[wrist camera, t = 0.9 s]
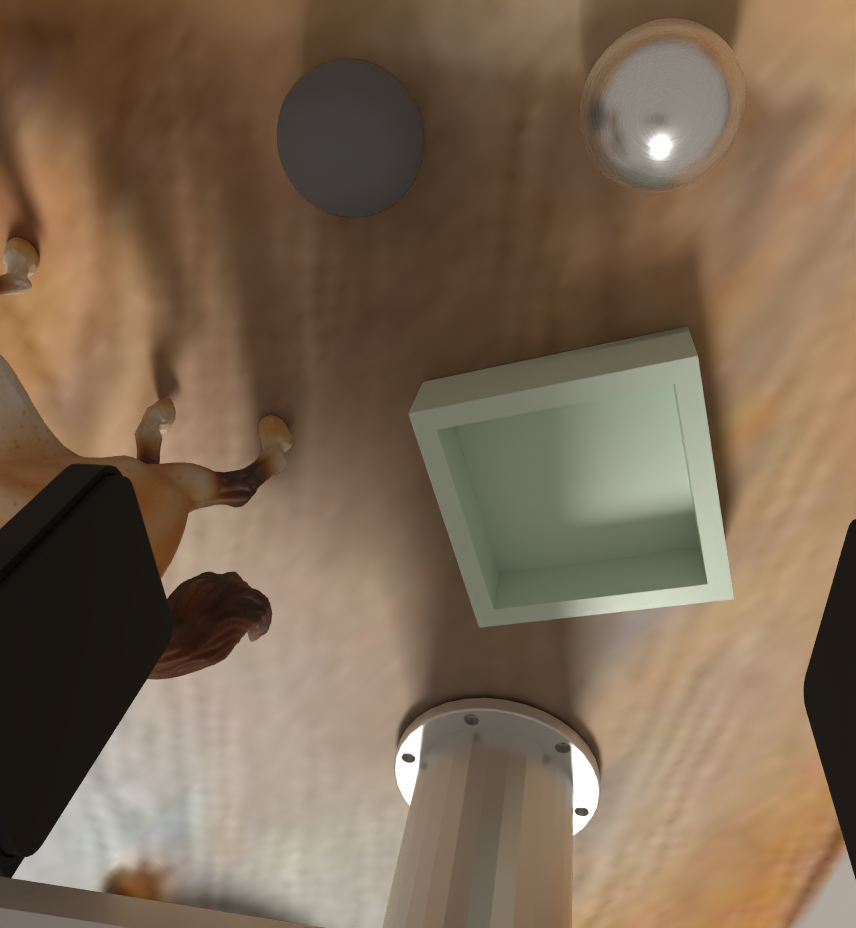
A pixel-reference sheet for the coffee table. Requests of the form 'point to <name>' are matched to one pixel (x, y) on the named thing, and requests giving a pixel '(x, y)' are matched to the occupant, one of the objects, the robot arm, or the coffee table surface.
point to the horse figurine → (145, 500)
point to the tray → (578, 481)
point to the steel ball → (662, 105)
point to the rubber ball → (350, 138)
